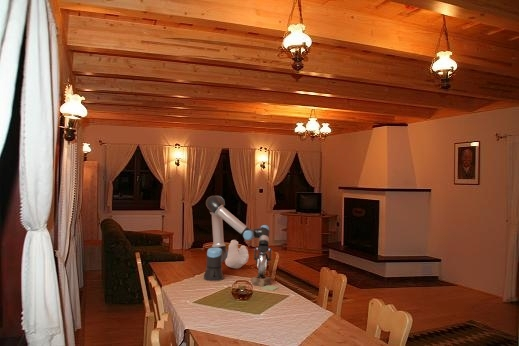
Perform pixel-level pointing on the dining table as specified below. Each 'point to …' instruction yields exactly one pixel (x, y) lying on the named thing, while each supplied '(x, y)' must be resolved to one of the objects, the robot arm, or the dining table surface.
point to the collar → (261, 281)
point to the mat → (269, 287)
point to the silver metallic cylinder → (262, 264)
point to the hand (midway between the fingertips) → (261, 267)
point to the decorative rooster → (236, 255)
